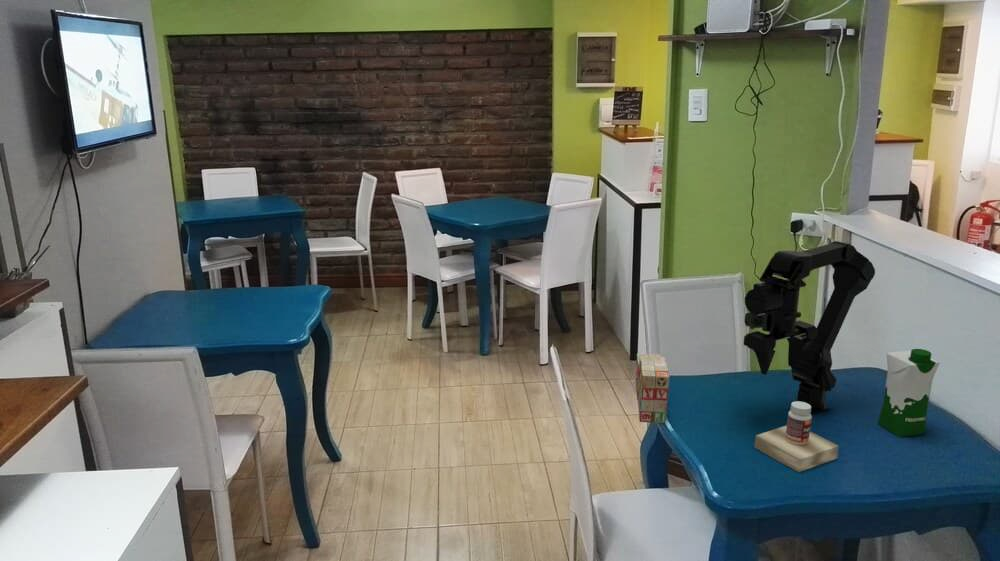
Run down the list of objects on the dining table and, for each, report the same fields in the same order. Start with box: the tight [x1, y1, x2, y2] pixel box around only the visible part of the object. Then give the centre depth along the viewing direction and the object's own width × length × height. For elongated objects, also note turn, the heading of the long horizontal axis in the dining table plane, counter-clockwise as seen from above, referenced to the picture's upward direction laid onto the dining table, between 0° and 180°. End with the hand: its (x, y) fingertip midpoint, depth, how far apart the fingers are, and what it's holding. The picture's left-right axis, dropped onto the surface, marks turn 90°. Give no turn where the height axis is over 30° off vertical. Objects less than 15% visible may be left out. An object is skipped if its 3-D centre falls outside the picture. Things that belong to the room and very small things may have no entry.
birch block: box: [754, 425, 840, 473], centre depth 164 cm, size 12×12×3 cm
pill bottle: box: [786, 400, 813, 445], centre depth 162 cm, size 5×5×8 cm
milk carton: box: [877, 348, 940, 438], centre depth 172 cm, size 9×9×20 cm
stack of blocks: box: [635, 353, 671, 424], centre depth 186 cm, size 21×6×12 cm, turn 173°
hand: (777, 370), depth 176 cm, fingers open, 9 cm apart
